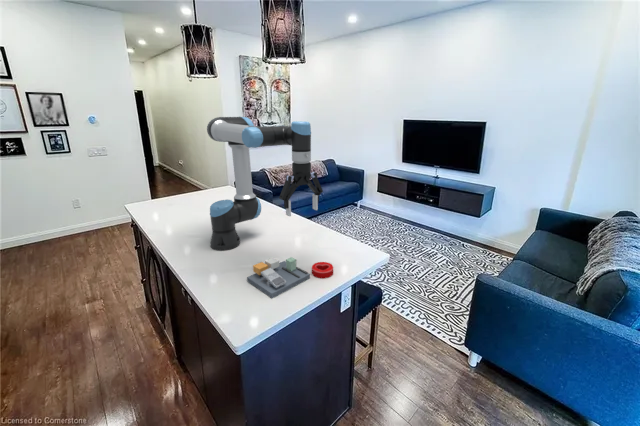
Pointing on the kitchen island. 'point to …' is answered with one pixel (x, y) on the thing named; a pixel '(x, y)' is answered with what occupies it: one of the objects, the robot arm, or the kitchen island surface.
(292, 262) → the pale green block
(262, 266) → the button
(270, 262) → the button
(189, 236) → the kitchen island surface
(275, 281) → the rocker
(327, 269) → the decorative ornament
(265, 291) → the panel
